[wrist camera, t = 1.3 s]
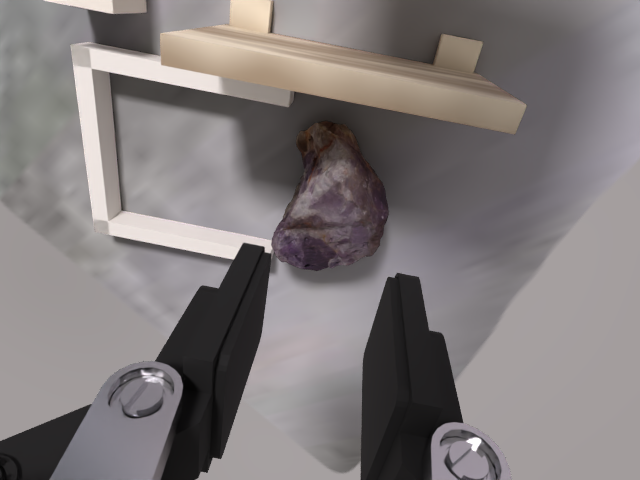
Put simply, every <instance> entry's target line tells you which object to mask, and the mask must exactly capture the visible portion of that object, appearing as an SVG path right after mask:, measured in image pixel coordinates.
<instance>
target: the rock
mask: <svg viewBox="0 0 640 480" xmlns="http://www.w3.org/2000/svg"><path fill="white" fill-rule="evenodd" d="M296 145H297V147H298V149H299V150H300V152H301V153H302V158H303V164H304V169H305V171H304V173H303V176H302V177H301V182H300V183H299V184H298V185H297V187H296V190H295V194H294V197H293V199H292V201H291V202H290V203H289V204H288V206H287V208H286V210H285V214H284V216H283V220H282V221H281V222H280V223H279V225H278V226H277V228H276V231H275V232H274V236H273V238H272V242H271V246H272V249H273V251H274V253H275V255H276V257H277V258H278V259H279V260H280V261H282V262H287V263H289V264H291V265H293V266H296V267H298V268H302V269H308V270H315V271H318V270H322V269H324V268H327V267H329V268H334V267H335V266H338V265H346V266H347V265H350V264H353V263H354V262H356V261H358V260H359V259H361V258H363V257H365V256H372V255H373V254H374V253H375V251H376V250H377V248H378V247H379V246H380V239H381V237H382V235H383V230H384V225H385V223H386V221H387V218H388V215H389V211H388V205H387V200H386V194H385V189H384V186H383V183H382V182H381V181H380V180H379V178H378V176H377V174H376V173H375V171H374V170H373V169H372V168H371V167H370V165H369V163H368V162H367V161H366V160H365V159H364V158H363V156H362V154H361V151H360V149H359V146H358V143H357V140H356V138H355V136H354V135H353V133H352V131H351V130H349V129H348V127H347V126H346V125H345V124H341V125H339V124H335V123H333V122H328V121H323V122H319V123H314V124H313V125H312V126H311V127H310V128H308V130H306V131H300V132H299V134H298V135H297V139H296Z"/></svg>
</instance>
